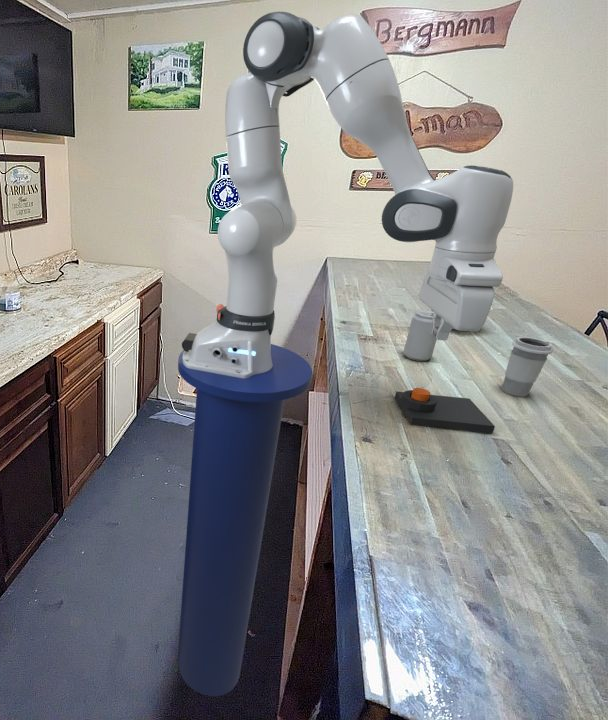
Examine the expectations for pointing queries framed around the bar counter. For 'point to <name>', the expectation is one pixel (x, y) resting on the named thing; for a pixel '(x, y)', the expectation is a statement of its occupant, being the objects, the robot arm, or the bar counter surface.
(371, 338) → the bar counter surface
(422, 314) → the beverage can
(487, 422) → the black flat block
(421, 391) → the tare button
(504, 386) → the cup
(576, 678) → the bar counter surface
